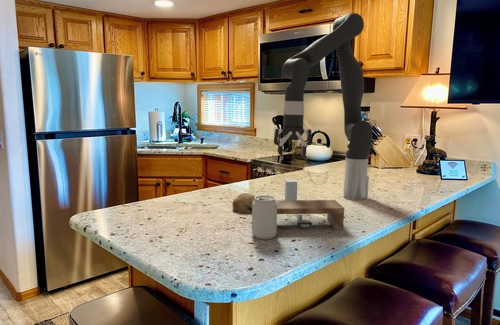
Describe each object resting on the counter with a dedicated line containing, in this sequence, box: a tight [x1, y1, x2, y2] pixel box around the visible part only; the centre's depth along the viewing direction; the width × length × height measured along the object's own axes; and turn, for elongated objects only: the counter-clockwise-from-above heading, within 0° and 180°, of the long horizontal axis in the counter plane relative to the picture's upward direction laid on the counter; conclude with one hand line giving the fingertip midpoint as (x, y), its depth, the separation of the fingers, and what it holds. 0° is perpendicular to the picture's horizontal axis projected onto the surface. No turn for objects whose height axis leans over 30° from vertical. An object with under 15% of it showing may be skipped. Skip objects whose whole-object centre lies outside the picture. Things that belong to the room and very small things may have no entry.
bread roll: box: [232, 192, 256, 214], centre depth 139 cm, size 10×10×8 cm
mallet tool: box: [284, 179, 303, 221], centre depth 135 cm, size 4×21×10 cm, turn 4°
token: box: [296, 219, 313, 230], centre depth 120 cm, size 5×5×2 cm
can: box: [251, 194, 278, 240], centre depth 110 cm, size 8×8×12 cm
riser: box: [275, 199, 345, 230], centre depth 121 cm, size 24×10×7 cm, turn 94°
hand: (292, 155), depth 142 cm, fingers open, 8 cm apart
